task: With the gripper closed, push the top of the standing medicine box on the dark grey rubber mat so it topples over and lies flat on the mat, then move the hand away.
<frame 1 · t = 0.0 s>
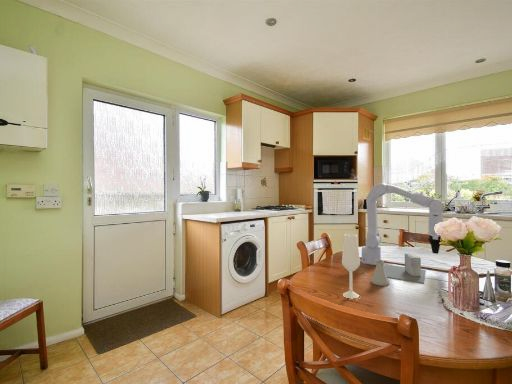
hand: (435, 251, 127), 10 cm above the table, tool pointing down, fingers open, 7 cm apart
flask: (379, 283, 114), on the table
mat: (402, 273, 126), on the table
medicine box: (412, 273, 125), resting on mat
champagne flute: (351, 296, 102), on the table
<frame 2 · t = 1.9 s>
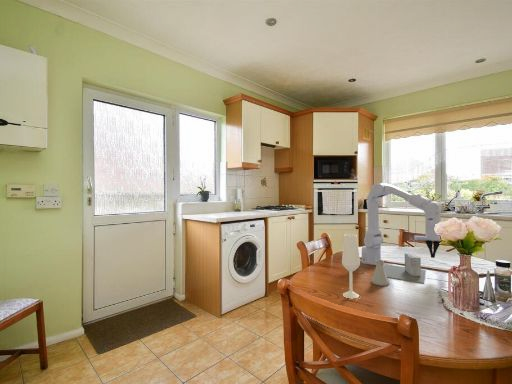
hand: (432, 257, 120), 9 cm above the table, tool pointing down, fingers closed
nothing on the table moved.
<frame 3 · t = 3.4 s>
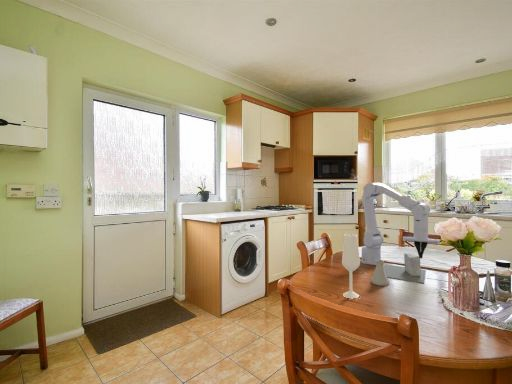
hand: (420, 257, 122), 8 cm above the table, tool pointing down, fingers closed
medicine box: (412, 273, 125), resting on mat, touching gripper
everything else where it was.
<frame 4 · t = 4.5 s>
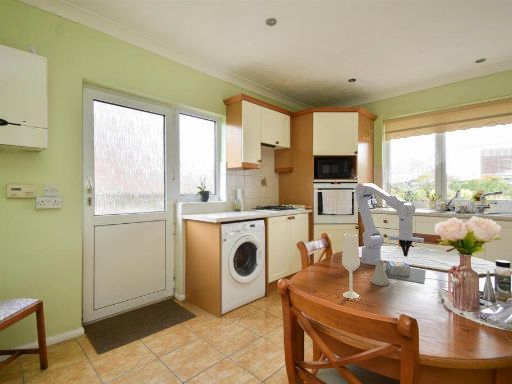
hand: (405, 256, 126), 8 cm above the table, tool pointing down, fingers closed
medicine box: (407, 268, 125), point 3 cm above the table, touching mat
everything else where it was.
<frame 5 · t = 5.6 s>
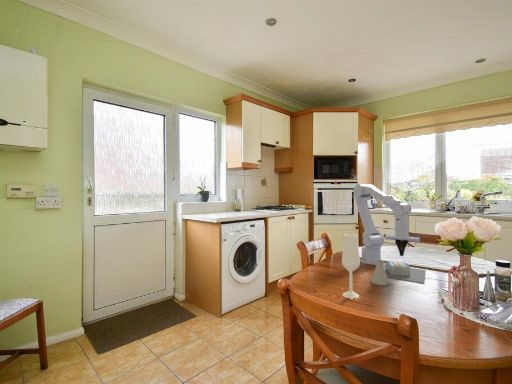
hand: (401, 255, 127), 8 cm above the table, tool pointing down, fingers closed
nothing on the table moved.
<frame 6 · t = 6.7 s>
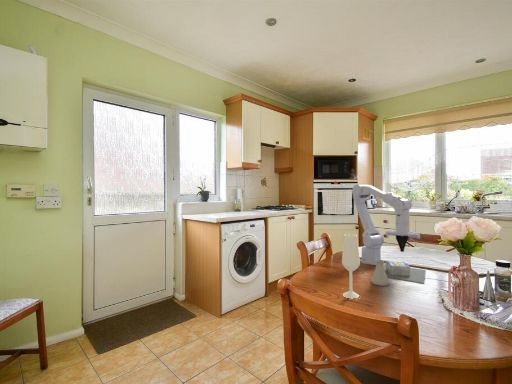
hand: (402, 251, 127), 10 cm above the table, tool pointing down, fingers closed
nothing on the table moved.
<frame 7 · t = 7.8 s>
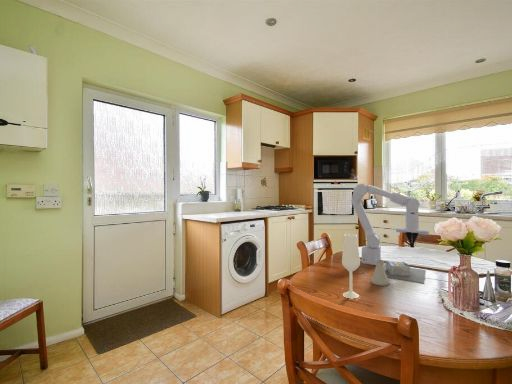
hand: (412, 247, 135), 10 cm above the table, tool pointing down, fingers closed
nothing on the table moved.
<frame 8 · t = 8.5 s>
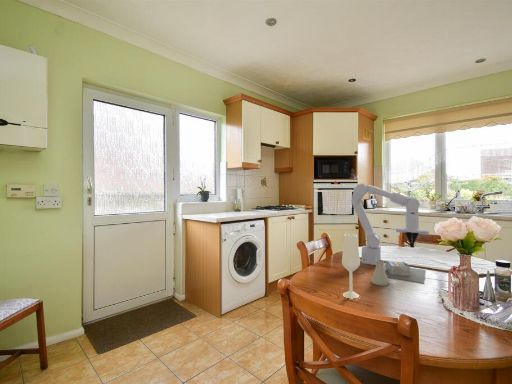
hand: (412, 247, 135), 10 cm above the table, tool pointing down, fingers closed
nothing on the table moved.
at the end: medicine box tilted 89°; medicine box inside the target area (2.1 cm from its centre), point 2.6 cm above the table; the gripper is holding nothing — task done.
